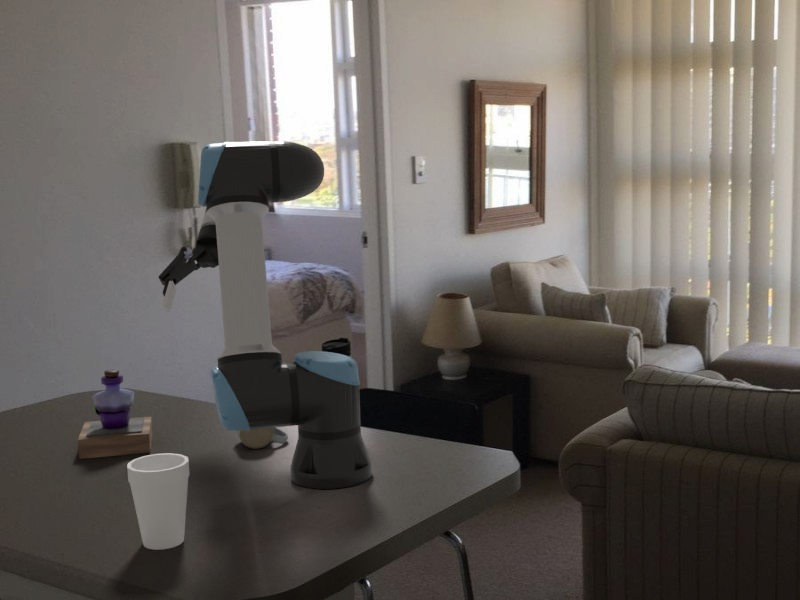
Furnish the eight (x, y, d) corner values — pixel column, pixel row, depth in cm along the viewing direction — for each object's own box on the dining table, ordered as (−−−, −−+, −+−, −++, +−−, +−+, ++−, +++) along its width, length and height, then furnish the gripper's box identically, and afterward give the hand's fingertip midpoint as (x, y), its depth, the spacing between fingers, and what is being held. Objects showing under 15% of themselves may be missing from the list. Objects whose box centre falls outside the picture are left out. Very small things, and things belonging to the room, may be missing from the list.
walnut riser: (150, 452, 205) (148, 432, 204) (79, 458, 202) (77, 438, 202) (152, 434, 219) (151, 415, 218) (86, 439, 216) (84, 420, 215)
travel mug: (360, 428, 218) (357, 338, 215) (343, 436, 212) (339, 344, 209) (337, 425, 221) (333, 336, 218) (319, 432, 216) (315, 341, 213)
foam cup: (198, 529, 162) (193, 452, 160) (188, 552, 153) (183, 470, 151) (139, 532, 162) (134, 454, 160) (126, 554, 153) (120, 473, 151)
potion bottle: (93, 423, 213) (88, 368, 211) (134, 418, 215) (130, 364, 214) (95, 433, 205) (91, 376, 203) (138, 428, 207) (134, 372, 206)
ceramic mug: (240, 452, 203) (239, 415, 202) (234, 441, 211) (233, 406, 210) (291, 447, 206) (290, 411, 205) (284, 436, 214) (283, 402, 213)
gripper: (272, 242, 230) (254, 317, 217) (170, 244, 234) (147, 318, 222) (263, 221, 224) (245, 297, 211) (159, 223, 228) (135, 298, 216)
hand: (195, 308), depth 217 cm, fingers open, 13 cm apart
